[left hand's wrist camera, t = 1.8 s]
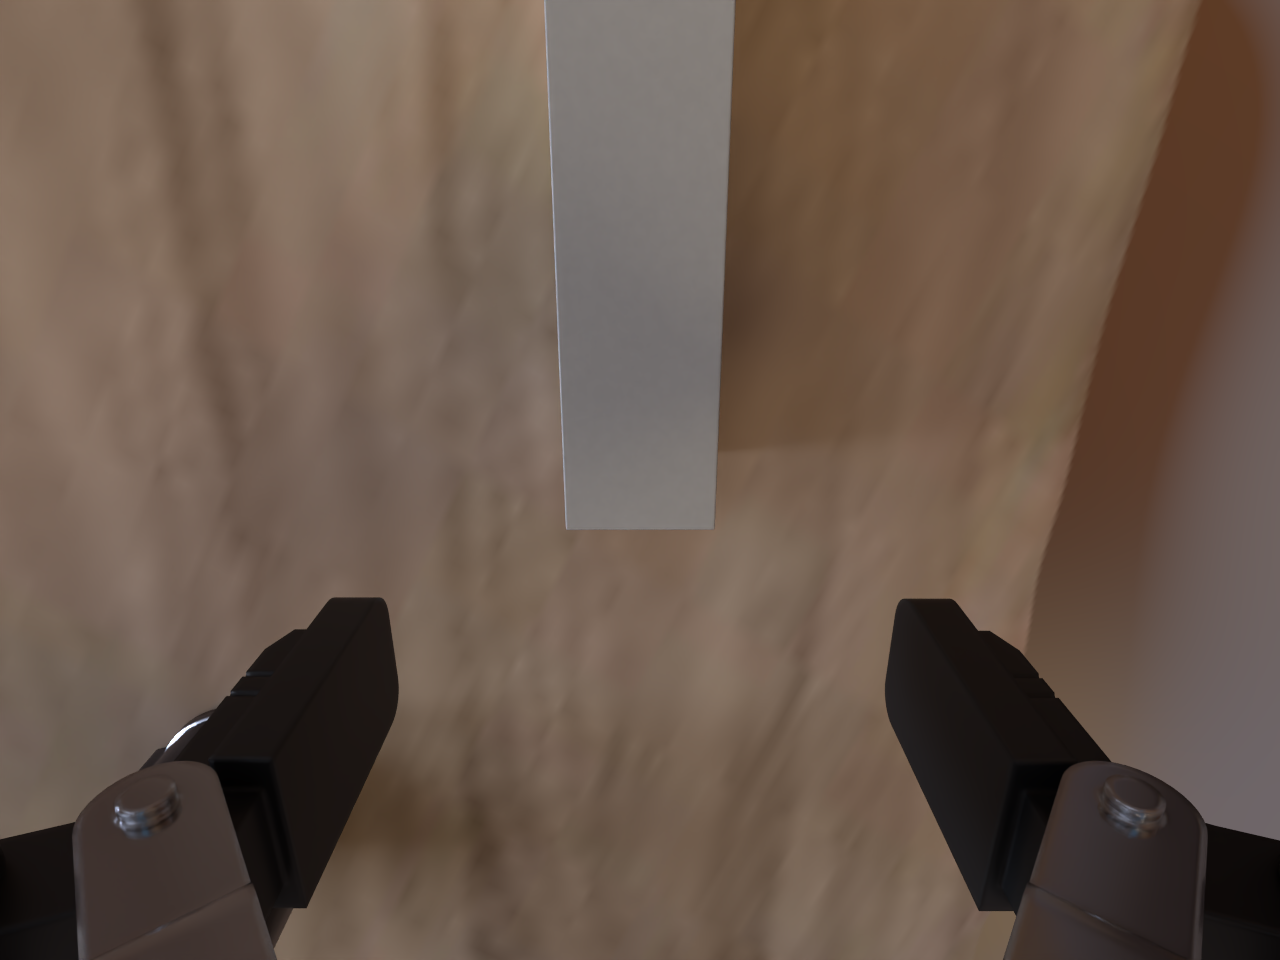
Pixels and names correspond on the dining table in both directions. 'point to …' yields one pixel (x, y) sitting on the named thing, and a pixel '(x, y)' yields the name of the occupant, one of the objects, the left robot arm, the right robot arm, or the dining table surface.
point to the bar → (640, 253)
